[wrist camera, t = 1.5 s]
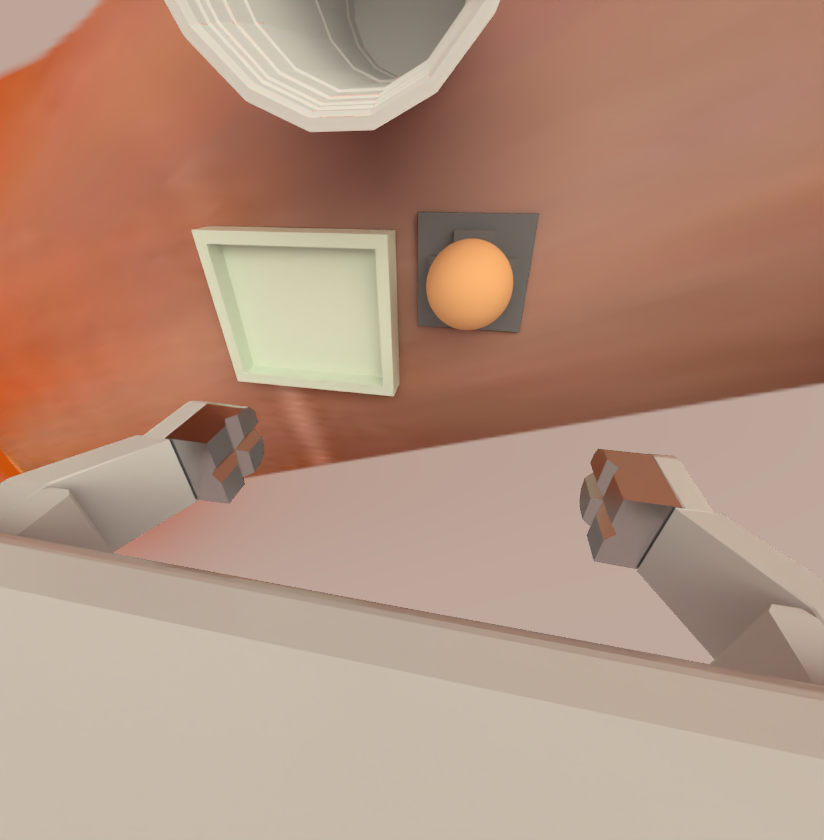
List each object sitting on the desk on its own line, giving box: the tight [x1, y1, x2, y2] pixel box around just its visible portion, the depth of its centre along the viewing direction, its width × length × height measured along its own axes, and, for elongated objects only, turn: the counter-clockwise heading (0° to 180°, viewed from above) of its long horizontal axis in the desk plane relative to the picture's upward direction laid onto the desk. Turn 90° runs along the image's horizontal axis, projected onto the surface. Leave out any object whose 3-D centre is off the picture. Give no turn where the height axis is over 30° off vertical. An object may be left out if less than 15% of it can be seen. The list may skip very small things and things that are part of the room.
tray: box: [191, 226, 400, 396], centre depth 27 cm, size 13×11×2 cm
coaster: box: [418, 212, 539, 332], centre depth 23 cm, size 7×7×1 cm
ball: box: [426, 238, 513, 330], centre depth 21 cm, size 5×5×5 cm
